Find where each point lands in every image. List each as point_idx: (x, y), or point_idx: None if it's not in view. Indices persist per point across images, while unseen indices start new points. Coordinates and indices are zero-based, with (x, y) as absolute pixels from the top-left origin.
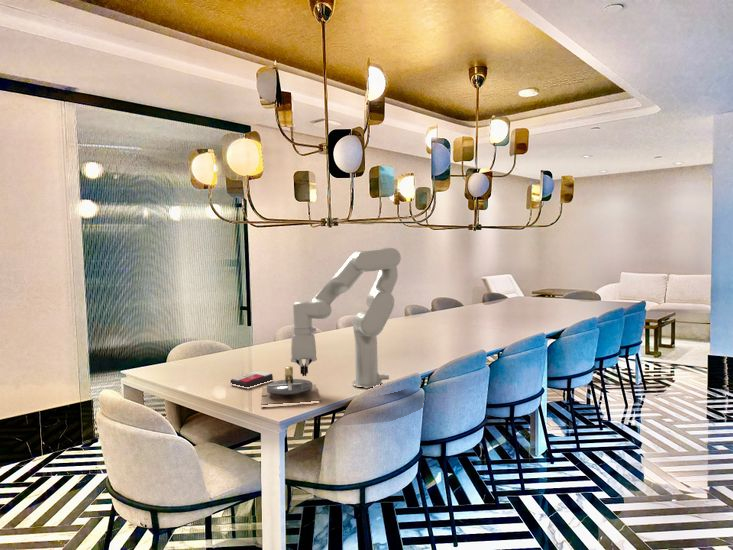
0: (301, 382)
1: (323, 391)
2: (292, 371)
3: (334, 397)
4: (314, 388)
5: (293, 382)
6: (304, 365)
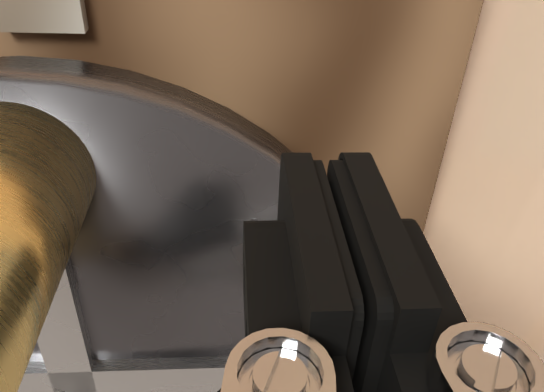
0: (241, 308)
1: (504, 144)
2: (41, 325)
3: (518, 328)
4: (411, 171)
5: (118, 287)
6: (388, 327)
